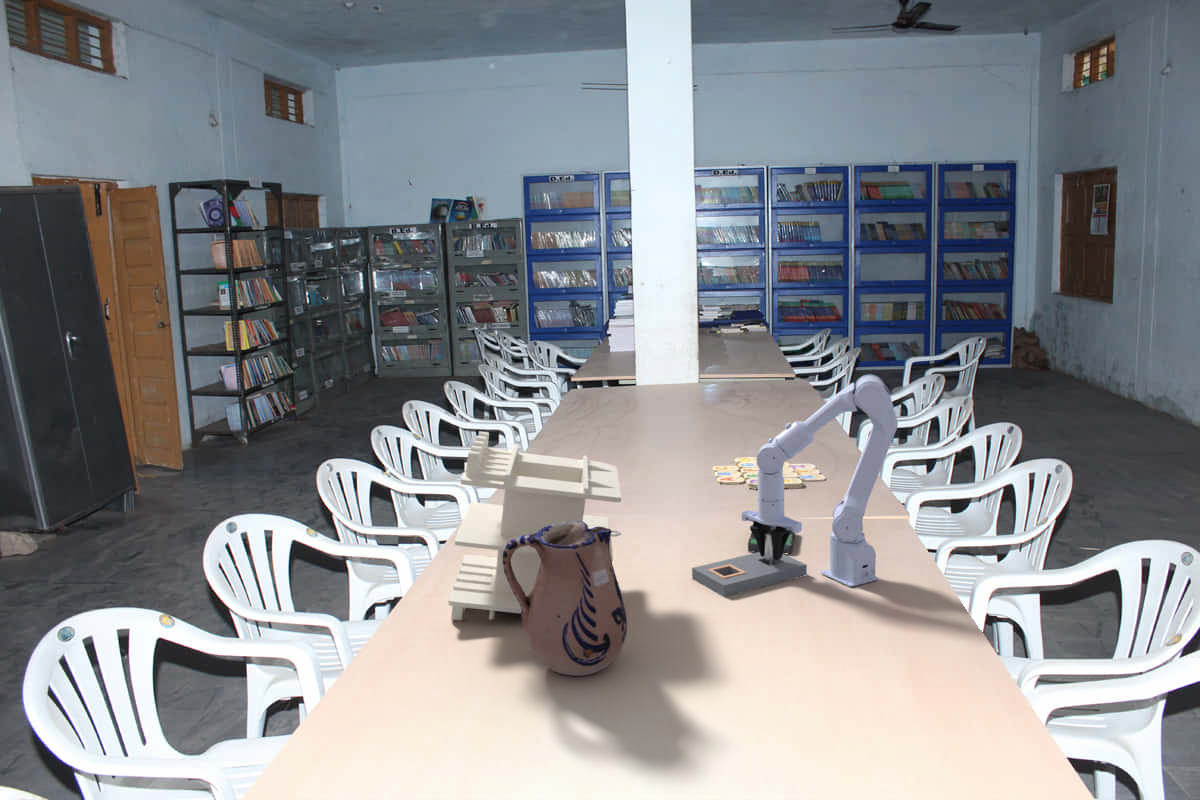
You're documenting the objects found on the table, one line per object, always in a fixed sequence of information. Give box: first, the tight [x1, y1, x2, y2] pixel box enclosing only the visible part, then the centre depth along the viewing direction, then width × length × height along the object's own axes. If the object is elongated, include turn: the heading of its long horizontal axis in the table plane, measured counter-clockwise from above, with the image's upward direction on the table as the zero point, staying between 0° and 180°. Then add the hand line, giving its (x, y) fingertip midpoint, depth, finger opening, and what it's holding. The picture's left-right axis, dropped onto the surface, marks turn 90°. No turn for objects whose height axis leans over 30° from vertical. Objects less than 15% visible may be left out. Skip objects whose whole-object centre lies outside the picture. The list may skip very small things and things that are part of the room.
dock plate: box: [691, 552, 808, 598], centre depth 199 cm, size 12×22×3 cm, turn 117°
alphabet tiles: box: [712, 456, 826, 490], centre depth 282 cm, size 33×33×2 cm
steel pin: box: [764, 531, 778, 566], centre depth 201 cm, size 3×3×9 cm
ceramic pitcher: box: [502, 520, 628, 677], centre depth 159 cm, size 18×21×25 cm
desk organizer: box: [448, 431, 622, 622], centre depth 189 cm, size 26×31×35 cm
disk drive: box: [747, 526, 796, 555], centre depth 221 cm, size 10×3×15 cm
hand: (771, 557), depth 202 cm, fingers closed on steel pin, 3 cm apart
